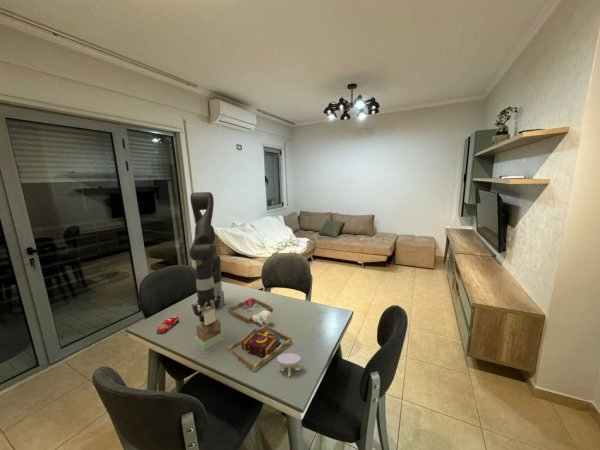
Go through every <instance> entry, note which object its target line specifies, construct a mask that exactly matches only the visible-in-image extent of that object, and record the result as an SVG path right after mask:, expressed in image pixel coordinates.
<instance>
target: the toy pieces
mask: <svg viewBox="0 0 600 450" xmlns="http://www.w3.org/2000/svg"><path fill="white" fill-rule="evenodd" d="M253 298H254V297H252V298H251V297H249V298H247V299H248V300H247V299H246V300H247V304H246V305H248V306H242V308H241V310H242V311H245V312H246V313H247V314H249V313H252V312H253V309H254V308H259V306H260V305H255V306H254V307H253V304H254V303H253ZM252 307H253V309H252ZM251 309H252V310H251ZM259 309H260V308H259Z"/></svg>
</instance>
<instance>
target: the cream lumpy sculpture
mask: <svg viewBox="0 0 600 450" xmlns="http://www.w3.org/2000/svg"><path fill="white" fill-rule="evenodd" d="M256 314H257V315H256ZM256 314H253V316H251V317H252V320H253V323H254V324H256V323H257V324H259V325H261V326H264V325H267V326H269V325H270V324H271V322H272V320H273V314H272V311H271V312H270V311H266V309H264V310H262V311H260V312H259V314H258V313H256ZM263 323H265V324H263Z"/></svg>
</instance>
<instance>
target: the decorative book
mask: <svg viewBox="0 0 600 450" xmlns="http://www.w3.org/2000/svg"><path fill="white" fill-rule="evenodd" d="M249 334H250V335H249ZM249 334H248V335H249V336H248V335H247V336H248V337H247V338H246V339H245V340H244V341H243V342H242V343H241V349H242V350H243V351H246V352H247V354H254V355H257V356H259V357H261V358H264V357H265V356H267V355H270V353H271V352H272V351H274V350H275V349H276V348H278V347H279V346H280V345H282V342H280V340H281V336H279V335H275V334H274V335H273V334H272V333H270V332H268V331H264V332H261V331H259V330H258V329H253V330H252V331H251V332H250V333H249Z"/></svg>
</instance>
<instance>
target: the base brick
mask: <svg viewBox="0 0 600 450" xmlns="http://www.w3.org/2000/svg"><path fill="white" fill-rule="evenodd" d="M223 338H224V332H222V331H221V333H220V334H218V335H216V336H214V337H212V338H210V339H209V340H207V341H205V342H203V341H202V340H200V339H199V338H198V337H197V335H195V336H194V339H195V341H196V345H197V346H199V347H200V348H201V349H202V350H203V351H206V350H208V349H209V348H211V347H213V346H215V345H216V344H218V343H220V342H222V341H223ZM195 341H194V342H195Z"/></svg>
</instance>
